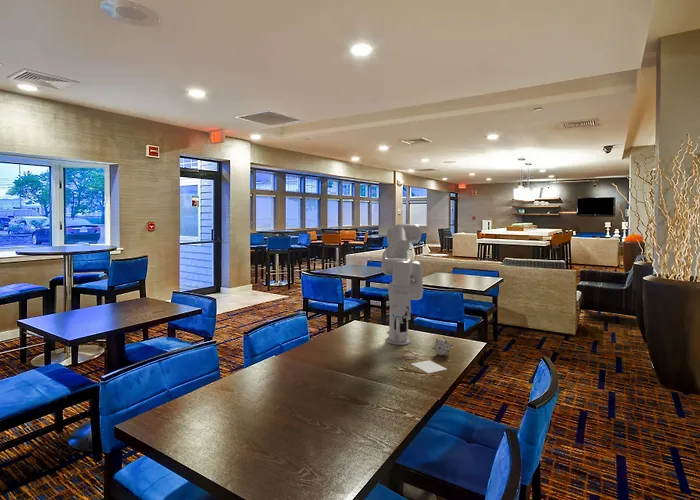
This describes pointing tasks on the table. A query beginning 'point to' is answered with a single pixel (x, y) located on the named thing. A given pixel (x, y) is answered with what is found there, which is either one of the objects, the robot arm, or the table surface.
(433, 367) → the paper
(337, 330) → the table surface
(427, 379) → the table surface
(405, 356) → the disc
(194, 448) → the table surface
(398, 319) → the marker
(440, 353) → the game die
